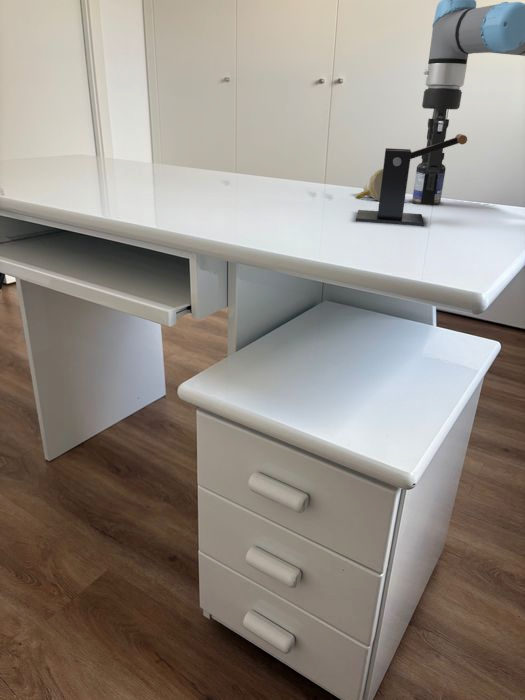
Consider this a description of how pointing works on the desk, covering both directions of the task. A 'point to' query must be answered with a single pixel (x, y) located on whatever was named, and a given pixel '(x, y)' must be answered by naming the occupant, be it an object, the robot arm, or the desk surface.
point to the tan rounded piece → (372, 186)
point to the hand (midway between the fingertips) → (425, 202)
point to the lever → (440, 146)
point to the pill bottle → (420, 181)
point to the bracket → (393, 192)
